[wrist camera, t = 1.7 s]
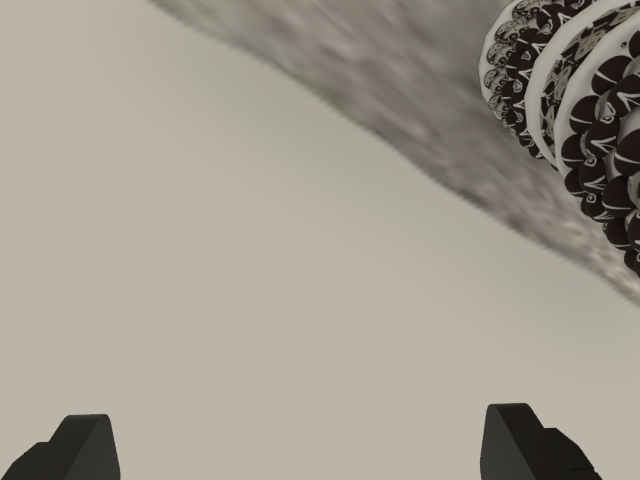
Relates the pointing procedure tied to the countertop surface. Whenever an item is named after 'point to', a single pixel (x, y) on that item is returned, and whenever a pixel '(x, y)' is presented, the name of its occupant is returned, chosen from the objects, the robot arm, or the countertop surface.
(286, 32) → the countertop surface
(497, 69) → the decorative candle
